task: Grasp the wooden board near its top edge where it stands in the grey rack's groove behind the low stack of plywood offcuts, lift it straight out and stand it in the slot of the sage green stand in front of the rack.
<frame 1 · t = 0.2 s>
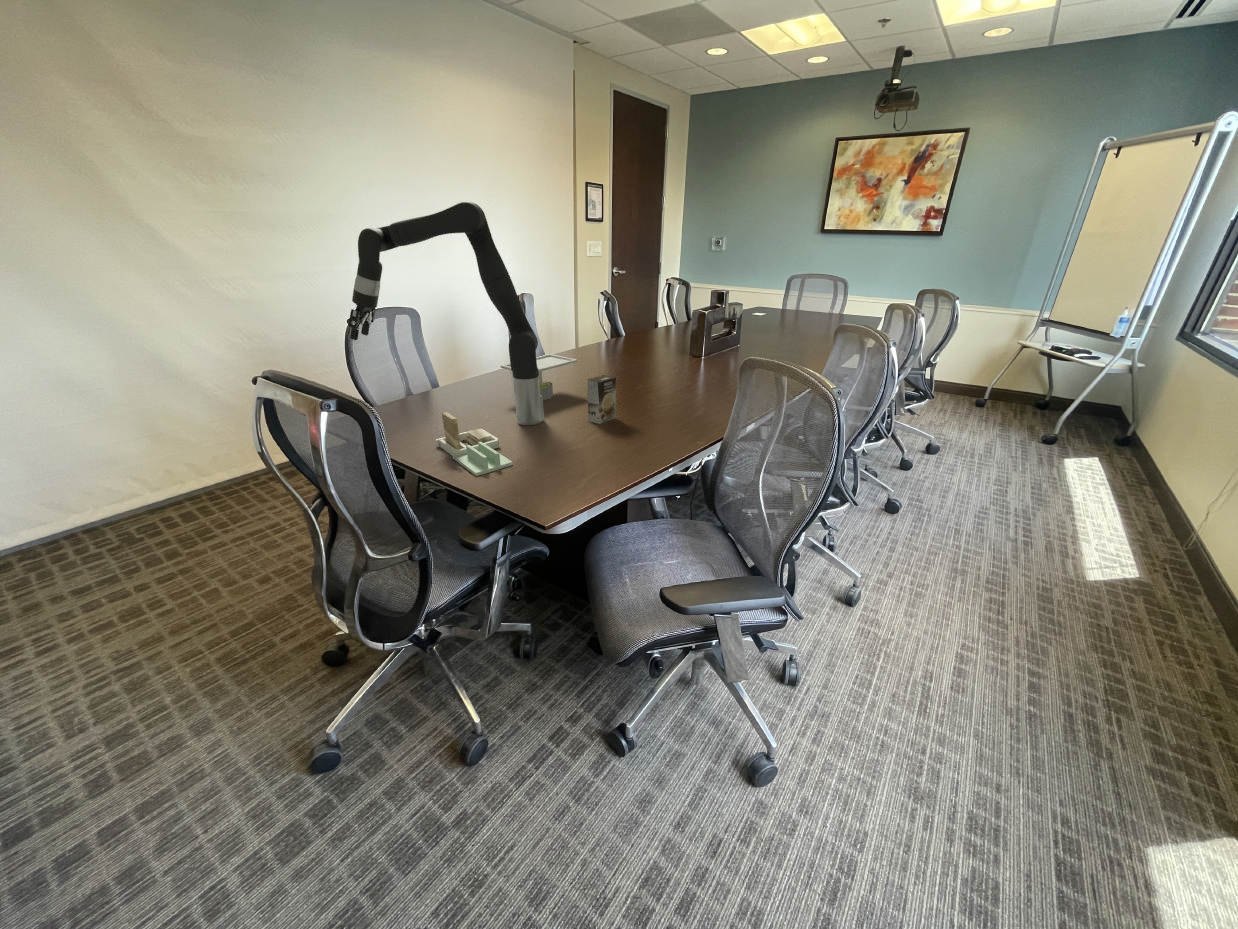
hand: (359, 336, 172), 31 cm above the table, tool tilted 20°, fingers open, 8 cm apart
rack: (463, 448, 163), on the table
stand: (484, 462, 153), on the table
wooden board: (454, 450, 161), resting in rack
coffee box: (602, 420, 188), on the table
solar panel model: (541, 397, 214), on the table
offcut stack: (479, 443, 167), resting in rack
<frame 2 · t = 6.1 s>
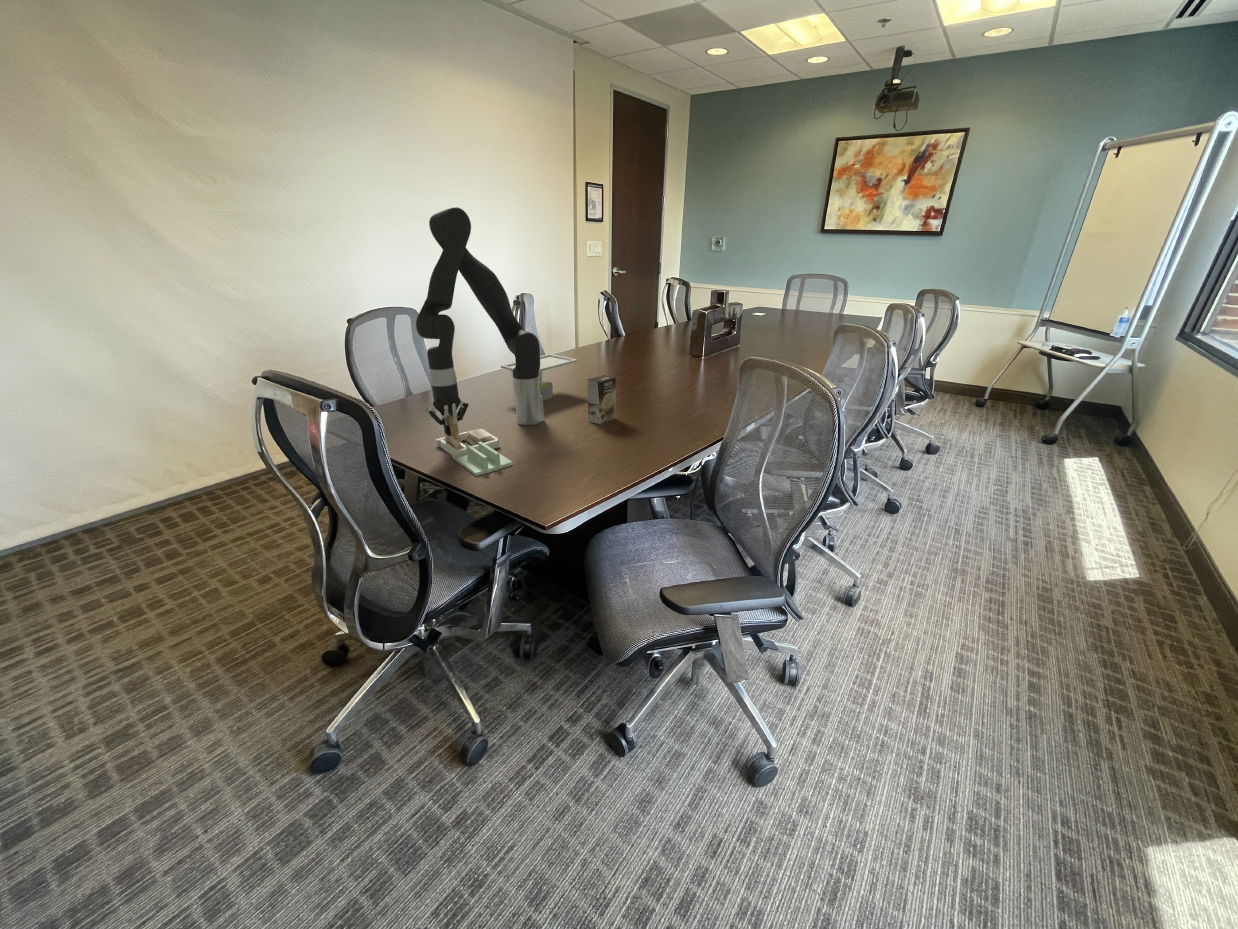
hand: (451, 434, 159), 6 cm above the table, tool pointing down, fingers closed on wooden board, 1 cm apart
wooden board: (454, 450, 161), resting in rack, touching gripper
everything else where it was.
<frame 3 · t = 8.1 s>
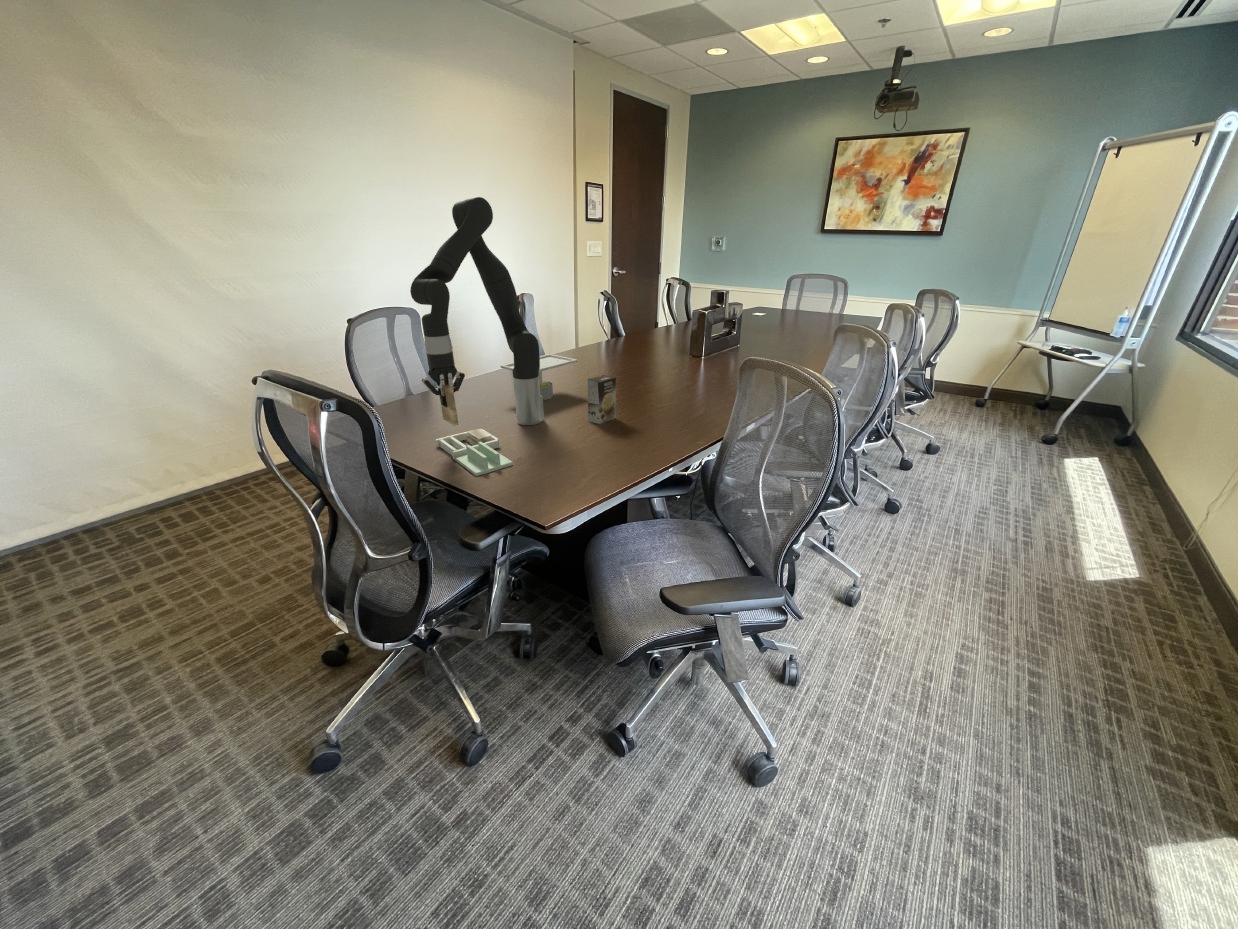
hand: (448, 406, 155), 15 cm above the table, tool pointing down, fingers closed on wooden board, 1 cm apart
wooden board: (450, 421, 157), point 10 cm above the table, touching gripper
everything else where it was.
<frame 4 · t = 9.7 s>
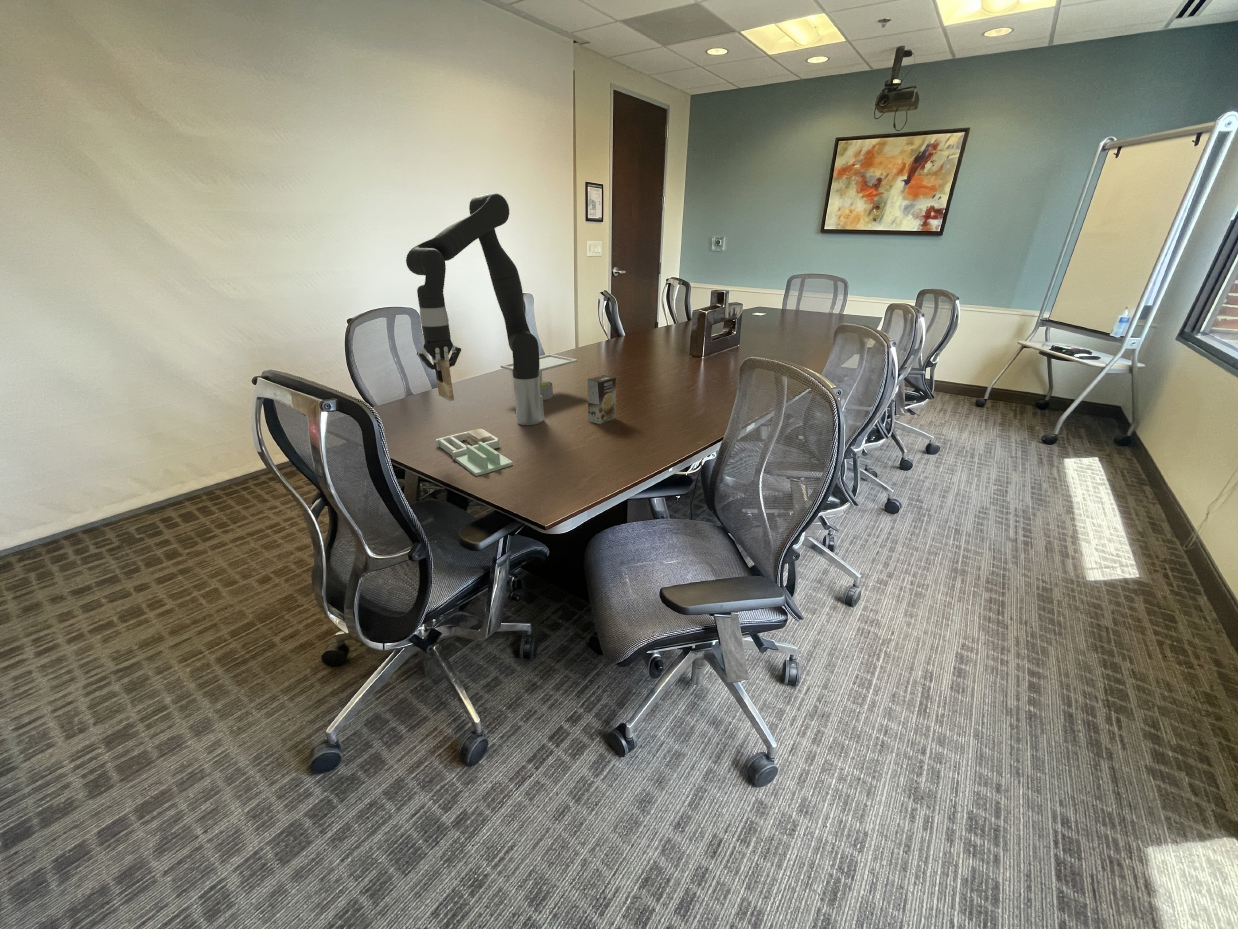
hand: (443, 381, 152), 23 cm above the table, tool pointing down, fingers closed on wooden board, 1 cm apart
wooden board: (446, 397, 154), point 18 cm above the table, touching gripper
everything else where it was.
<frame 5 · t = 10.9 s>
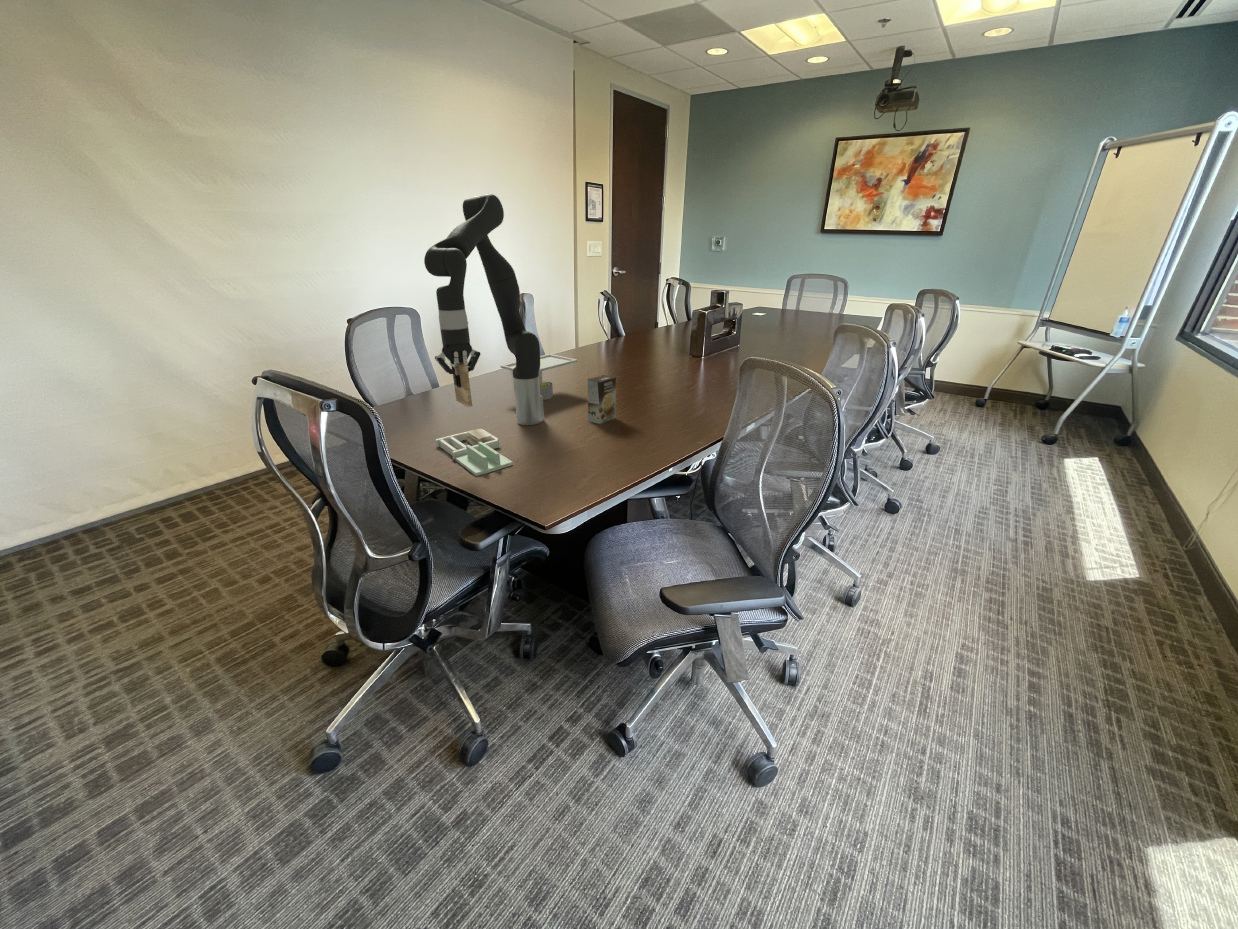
hand: (462, 386, 146), 23 cm above the table, tool pointing down, fingers closed on wooden board, 1 cm apart
wooden board: (464, 403, 148), point 18 cm above the table, touching gripper
everything else where it was.
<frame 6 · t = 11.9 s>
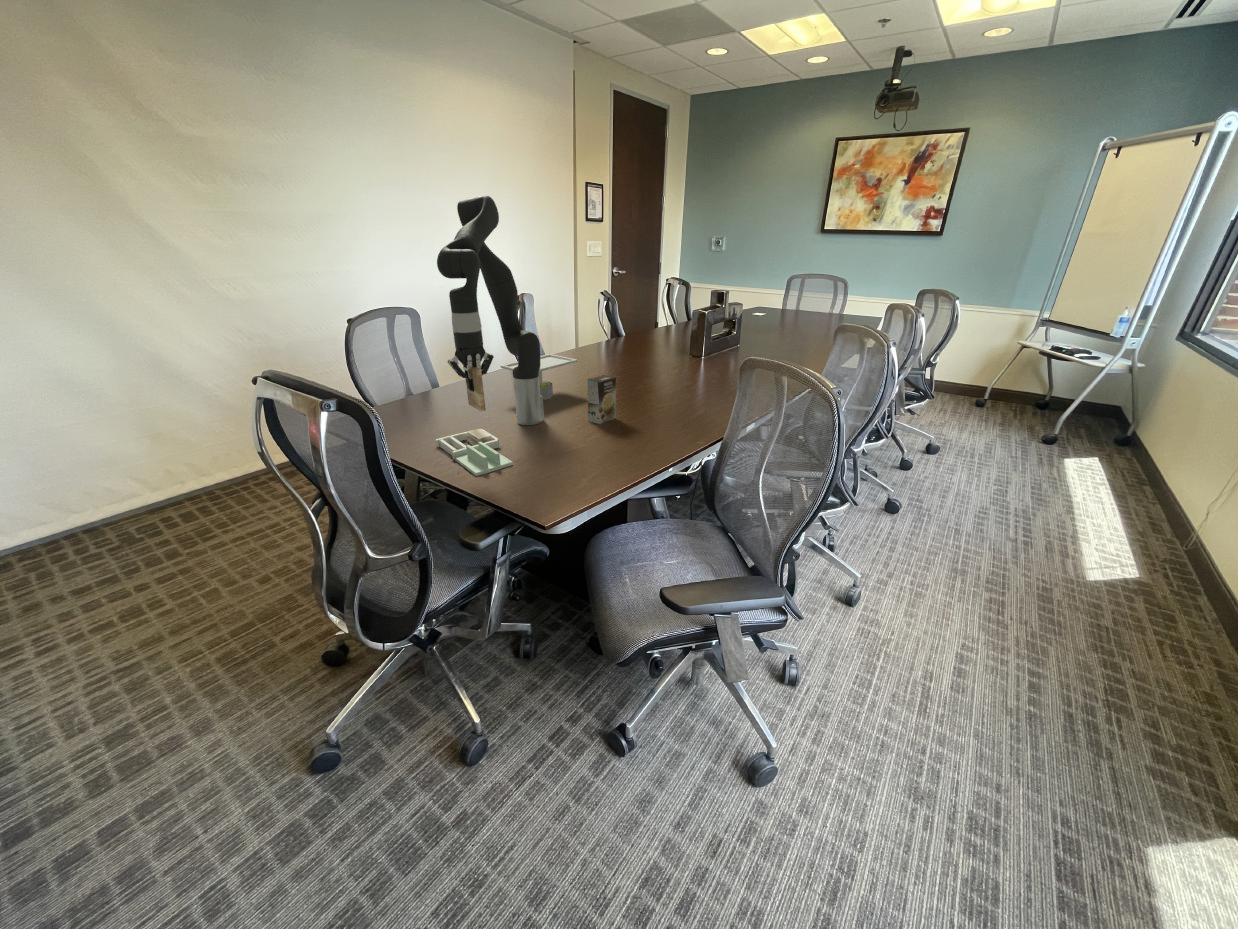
hand: (474, 390, 143), 23 cm above the table, tool pointing down, fingers closed on wooden board, 1 cm apart
wooden board: (477, 407, 145), point 18 cm above the table, touching gripper
everything else where it was.
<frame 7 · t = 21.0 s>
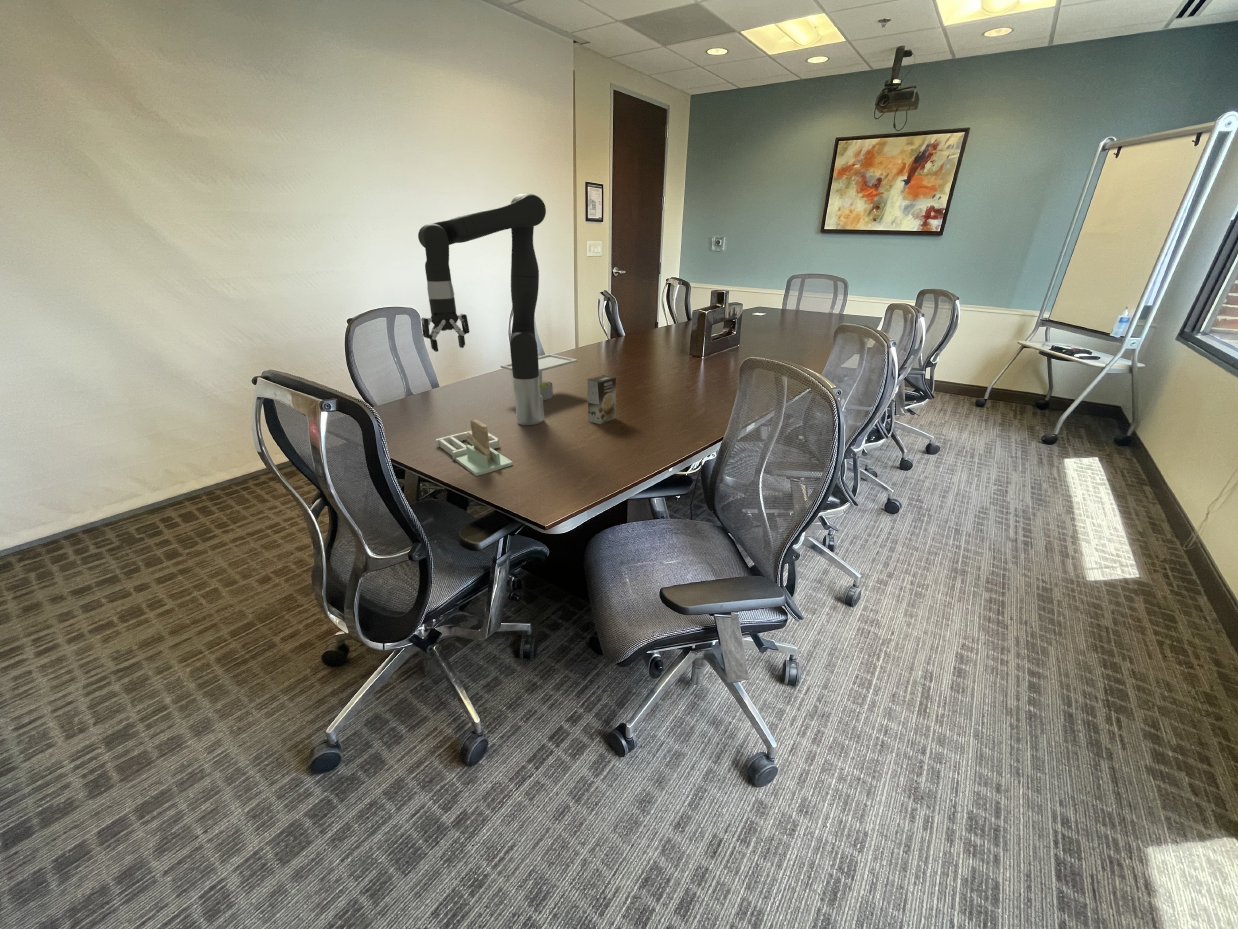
hand: (449, 349, 160), 30 cm above the table, tool pointing down, fingers open, 8 cm apart
wooden board: (483, 459, 152), point 1 cm above the table, touching stand
everything else where it was.
at the end: wooden board inside the target area (0.6 cm from its centre), point 1.0 cm above the table; wooden board tilted 0°; the gripper is holding nothing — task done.
